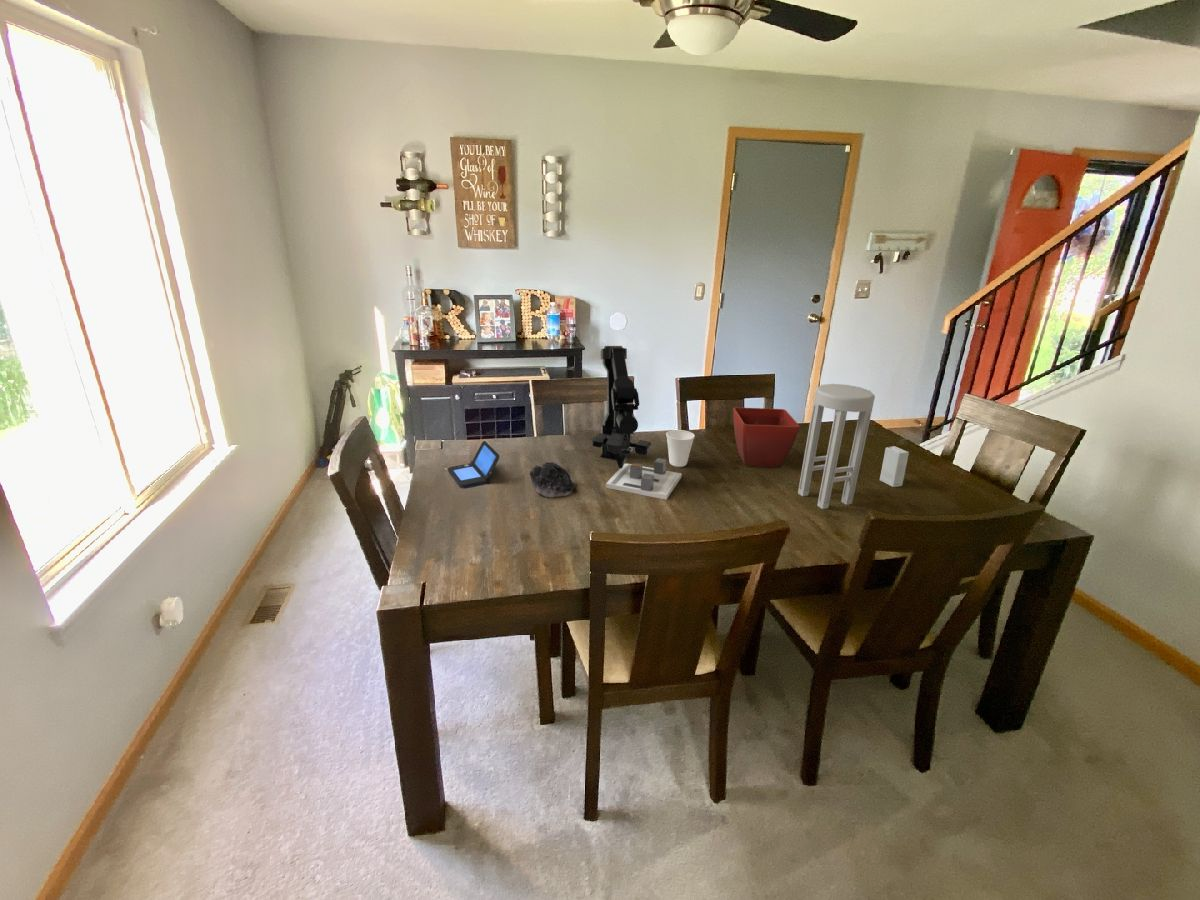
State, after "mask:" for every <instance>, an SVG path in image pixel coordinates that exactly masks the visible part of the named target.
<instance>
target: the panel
mask: <svg viewBox="0 0 1200 900" xmlns="http://www.w3.org/2000/svg"><path fill="white" fill-rule="evenodd" d="M632 464H633V463H624V465H623V468H622V469H620V468H618V470H617V471H616V472H615V473H614V474H613V475H612V477H611V478H609V480H608V481H607V482H606V483H605V488H606V489H612V490H616V491H621V492H627V493H631V494H636V495H641V496H645V497H646V496H647V497H651V498H657V499H662V500H668V498H669V497H670V495H671V493H672V492H673V491H674V489H675V488H676V487H677V485H678V483H679V481H681V479H682V473H681V472H675V471H670V470H666V471H665V472H664V473H663V475H662V474H657V473H654V467H649V466H643V465H642V476H643V475H644V474H650V475H654V483H653V488H652V489H651V490H650V491H645V490H641V478H642V476H641V477H640V478H639V479H634V478H630V466H631V465H632Z"/></svg>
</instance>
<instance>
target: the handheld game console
mask: <svg viewBox="0 0 1200 900" xmlns="http://www.w3.org/2000/svg"><path fill="white" fill-rule="evenodd" d="M499 460H500V454H499V453H498V452H497V451H496V450H495V449H494V448H493V447H492V446H491V445H490V444H489V443H488V442H487V441H486V440H483V441H482V443H480V446H479V448H478V450H477V452H476V453H475V455H474V457H473V459H472V460H471V461H470V463H464V464H459V465H453V466H449V467H448V468H447V471H448V473H449V474H450V476H451V477H452V479H453V480H454V481H455V482H456V484H457V485H458V486H459V487H460V488H462V489H463V488H465V489H466V488H470V487H475V486H481V485H484V484H489V483H490V481H489V478H490V476H491V475H492V473H493V471H494V469H495V468H496V465H497V464H498V462H499Z"/></svg>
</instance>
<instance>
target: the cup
mask: <svg viewBox="0 0 1200 900" xmlns="http://www.w3.org/2000/svg"><path fill="white" fill-rule="evenodd" d="M665 435H666V439H667V440H666V443H667V450H668V452H667V453H668V461H669V464H670V465H671V466H673V467H677V468H682V467H685V466H687V465H688V461H689V457H690V453H691V449H692V446H693V443H694V439H695V437H696V436H695V434H694V433H693V432H691V431H688V430H682V429H673V430H668V431H666V433H665Z"/></svg>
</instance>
